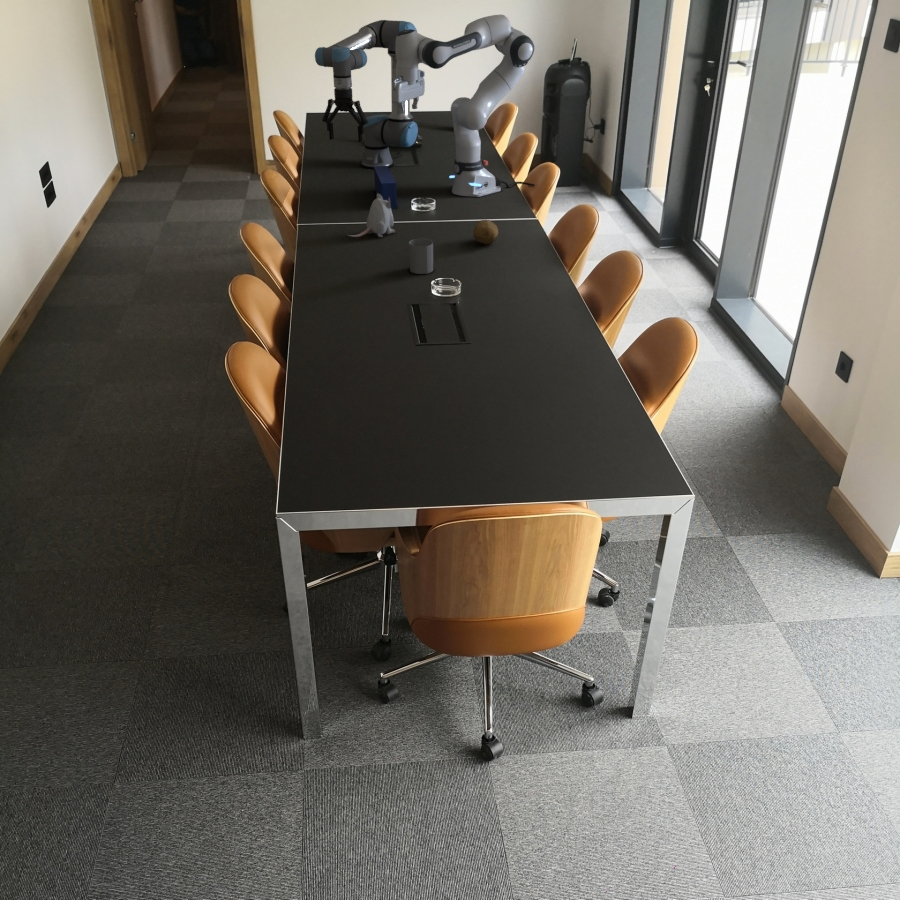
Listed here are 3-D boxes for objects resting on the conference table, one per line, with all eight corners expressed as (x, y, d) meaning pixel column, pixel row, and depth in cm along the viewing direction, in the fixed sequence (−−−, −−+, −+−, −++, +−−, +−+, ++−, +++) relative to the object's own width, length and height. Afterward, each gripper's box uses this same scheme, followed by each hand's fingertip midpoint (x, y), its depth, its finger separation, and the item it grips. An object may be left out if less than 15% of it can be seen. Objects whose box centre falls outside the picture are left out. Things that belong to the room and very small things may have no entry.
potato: (495, 236, 338) (496, 216, 334) (500, 248, 327) (500, 227, 322) (471, 236, 338) (471, 216, 334) (474, 249, 326) (474, 228, 322)
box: (375, 190, 391) (373, 166, 385) (388, 189, 392) (387, 165, 386) (382, 209, 368) (381, 183, 362) (396, 208, 369) (395, 182, 363)
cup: (409, 265, 311) (408, 238, 306) (432, 265, 312) (431, 238, 307) (410, 274, 304) (409, 246, 299) (433, 273, 305) (433, 246, 299)
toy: (400, 232, 342) (399, 194, 334) (355, 247, 327) (353, 208, 319) (385, 227, 347) (383, 189, 339) (340, 242, 333) (337, 203, 324)
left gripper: (312, 87, 364) (316, 139, 376) (367, 91, 358) (369, 144, 369) (319, 84, 370) (323, 136, 382) (373, 88, 364) (376, 140, 375)
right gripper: (400, 79, 339) (401, 116, 346) (427, 71, 354) (427, 107, 361) (386, 78, 341) (388, 115, 349) (413, 70, 356) (414, 105, 364)
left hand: (346, 140), depth 375 cm, fingers open, 13 cm apart
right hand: (408, 110), depth 355 cm, fingers open, 8 cm apart
